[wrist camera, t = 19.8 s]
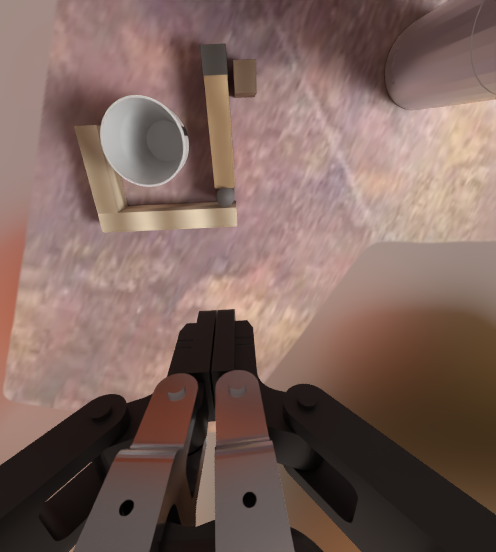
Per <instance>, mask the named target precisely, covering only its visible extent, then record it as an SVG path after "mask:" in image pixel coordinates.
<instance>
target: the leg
mask: <svg viewBox="0 0 496 552" xmlns="http://www.w3.org/2000/svg"><path fill="white" fill-rule="evenodd" d="M200 49H201V59H202V70H203V76H204V84H205V94H206V104H207V115H208V125H209V135H210V145H211V155H212V165H213V175H214V185H215V189H218V192H217V196H216V198H217V202H218V203H219V204H220V205H221V206H224V207H227V206H230V205H231V204H232V203H233V201H234V188H235V177H234V162H233V148H232V133H231V118H230V103H229V89H228V68H227V53H226V44H209V45H200Z"/></svg>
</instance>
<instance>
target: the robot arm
mask: <svg viewBox="0 0 496 552" xmlns="http://www.w3.org/2000/svg"><path fill="white" fill-rule="evenodd" d="M385 83H386V88H387V91H388V94H389V95H390V97H391V98H392V100H393V101H394V102H395V103H396V104H397V105H398V106H400V107H402V108H404V109H409V110H420V109H428V108H435V107H443V106H450V105H458V104H465V103H472V102H479V101H486V100H493V99H496V0H448V1H447V2H445V3H444V4H442V5H440V6H439V7H437V8H435V9H434V10H432V11H431V12H429V13H427V14H426V15H424V16H423V17H421V18H420V19H418V20H416V21H415V22H413V23H412V24H411V25H409V26H408V27H407V28H406V29H405V30H404V31H403V32H402V33H401V34H400V35H399V36H398V38H397V39H396V41H395V43H394V44H393V46H392V48H391V50H390V53H389V55H388V58H387V62H386V66H385ZM210 421H216V447H215V520H213V521H211V522H208V523H205V524H203V525H200V526H197V527H196V504H197V498H198V492H199V486H200V480H201V474H202V469H203V463H204V456H205V451H206V445H207V439H206V436H207V428H208V422H210ZM90 462H92V463H91V464H90V465H88V464H89V463H90ZM277 463H280V464H283V465H284V468H285V469H286V471H287V472H288V473H289V474H290V476H291V477H292V478H293V479H294V480H295V481H296V482H297V483H298V484H299V485H300V486H301V487H302V488H303V490H305V492H306V493H307V494H308V495H309V496H310V497H311V498H312V499H313V500H314V501H315V502H316V503H317V504H318V506H319V507H320V508H321V509H322V510H323V511H324V512H325V513H326V514H327V515H328V516H329V517H330V518H331V519H332V521H333V522H334V523H335V524H336V525H337V526H338V527H339V528H340V529H341V530H342V531H343V532H344V533H345V534H346V535H347V537H348V538H349V539H350V540H351V541H352V542H353V543H354V544H355V545H356V546H357V547H358V548H359V549H360V551H361V552H496V515H495V514H494V513H492V512H491V511H489V510H488V509H487V508H485V507H484V506H483V505H481V504H480V503H478V502H477V501H476V500H474V499H473V498H471V497H470V496H469V495H467V494H466V493H464V492H463V491H462V490H460V489H459V488H458V487H456V486H455V485H453V484H452V483H450V482H449V481H448V480H446V479H445V478H444V477H442V476H441V475H439V474H438V473H437V472H435V471H434V470H433V469H431V468H430V467H428V466H427V465H426V464H424V463H423V462H421V461H420V460H419V459H417V458H416V457H414V456H413V455H412V454H410V453H409V452H407V451H406V450H405V449H403V448H402V447H400V446H399V445H397V444H396V443H395V442H394V441H392V440H391V439H389V438H388V437H387V436H385V435H384V434H382V433H381V432H380V431H378V430H377V429H376V428H374V427H373V426H371V425H370V424H369V423H367V422H366V421H364V420H363V419H361V418H360V417H359V416H357V415H356V414H354V413H353V412H352V411H351V410H349V409H348V408H346V407H345V406H344V405H342V404H341V403H339V402H338V401H337V400H335V399H334V398H332V397H331V396H330V395H328V394H327V393H325V392H324V391H323V390H321V389H320V388H318V387H316V386H313V385H310V384H298V385H295V386H292V387H291V388H289V389H288V390H287V392H282V391H278V390H274V389H272V388H269V387H267V386H265V385H264V384H263V383H262V382H261V381H260V379H259V377H258V375H257V367H256V356H255V345H254V334H253V327H252V326H251V324H250V323H249V322H248V321H247V320H244V321H235V309H230V310H218V311H217V310H212V311H199V314H198V319H197V323H188V324H186V325H185V326H184V327H183V329H182V330H181V331H180V333H179V336H178V340H177V343H176V347H175V350H174V354H173V357H172V361H171V364H170V368H169V372H168V375H167V377H166V378H164V379H163V380H162V381H161V382H160V383H159V384H158V385H157V386H156V388H155V390H154V392H153V394H151V395H149V396H147V397H144V398H142V399H139V400H135V401H132V402H129V403H126V401H125V399H124V398H123V397H122V396H120V395H116V394H108V395H103V396H100V397H98V398H96V399H94V400H92V401H91V402H89V403H88V404H86V405H85V406H83V407H82V408H81V409H79V410H78V411H76V412H75V413H74V414H72V415H71V416H69V417H68V418H67V419H65V420H64V421H62V422H61V423H60V424H58V425H57V426H55V427H54V428H52V429H51V430H50V431H48V432H47V433H45V434H44V435H43V436H41V437H40V438H39V439H37V440H35V441H34V442H33V443H31V444H30V445H28V446H27V447H26V448H24V449H23V450H21V451H20V452H19V453H17V454H16V455H15V456H13V457H12V458H10V459H9V460H7V461H6V462H4V463H3V464H2V465H0V552H69V551H70V550H71V549H72V548H73V547H74V545H76V546H75V548H74V550H73V552H323V551H322V550H321V549H320V548H319V547H318V546H317V545H316V544H315V543H314V542H313V541H312V540H311V539H309V538H308V537H307V536H305V535H304V534H302V533H301V532H299V531H297V530H296V529H294V528H291V527H290V526H289V521H288V516H287V511H286V507H285V501H284V496H283V491H282V486H281V481H280V476H279V471H278V466H277ZM87 465H88V466H87ZM86 466H87V467H86ZM84 467H86V468H85V469H84V470H83V471H81V470H82V469H83V468H84ZM80 471H81V472H80ZM78 472H80V473H79V474H78V475H77V476H76V477H75V478H73V477H74V476H75V475H76V474H77V473H78ZM71 478H73V479H72V480H71V481H70V482H69V483H68V484H66V483H67V482H68V481H69V480H70V479H71ZM65 484H66V486H64V485H65ZM62 486H64V487H63V488H62V489H61V490H60V491H58V490H59V489H60V488H61V487H62ZM57 491H58V492H57ZM55 492H57V493H56V494H55V495H54V496H53V497H52V498H50V497H51V496H52V495H53V494H54V493H55ZM49 498H50V499H49ZM48 499H49V500H48ZM47 500H48V501H47Z"/></svg>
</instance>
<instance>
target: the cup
mask: <svg viewBox="0 0 496 552" xmlns="http://www.w3.org/2000/svg"><path fill="white" fill-rule="evenodd" d="M100 139H101V145H102V149H103V152H104V154H105V156H106V158H107V160H108V162H109V164H110V165H111V166H112V168H113V169H114V170H115V171H116V172H117V173H118V174H119V175H120V176H121V177H123V178H124V179H126V180H127V181H129V182H131V183H133V184H136V185H139V186H145V187H154V186H159V185H162V184H165V183H167V182H168V181H170V180H171V179H172V178H173V177H174V176H175V175H176V174H177V173H178V172H179V171H180V169H181V168H182V167H183V165H184V164H185V162H186V160H187V157H188V152H189V140H188V135H187V132H186V129H185V127H184V125H183V123H182V122H181V120H180V119H179V118H178V116H177V115H176V114H175V113H174V112H172V111H171V110H170V109H168V108H167V107H166V106H164V105H163V104H161V103H160V102H158V101H157V100H155V99H152V98H150V97H146V96H142V95H130V96H126V97H123V98H121V99H119V100H117V101H115V102H114V103H113V104H112V105H111V106H110V107H109V108H108V109H107V111H106V113H105V115H104V117H103V119H102V123H101V128H100Z"/></svg>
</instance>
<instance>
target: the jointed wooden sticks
mask: <svg viewBox="0 0 496 552" xmlns="http://www.w3.org/2000/svg"><path fill="white" fill-rule="evenodd" d="M233 69H234V90H235V98H241V97H255V95H256V93H257V89H256V59H245V60H233ZM74 128H75V132H76V136H77V139H78V143H79V147H80V150H81V154H82V158H83V161H84V165H85V169H86V173H87V176H88V180H89V184H90V187H91V191H92V195H93V198H94V202H95V206H96V209H97V213H98V217H99V220H100V224H101V228H102V231H103V233H105V232H126V231H148V230H169V229H190V228H212V227H233V226H237V210H236V201H233V203H232V204H231V205H230V206H227V207H224V206H221V205H220V204H219V203H218V202H205V203H183V204H161V205H139V206H128V204H127V200H126V195H125V191H124V186H123V182H122V177H121V176H120V175H119V174H118V173H117V172H116V171H115V170H114V169H113V168H112V166H111V165H110V164H109V162H108V160H107V158H106V156H105V154H104V152H103V149H102V145H101V139H100V128H101V125H81V126H74Z"/></svg>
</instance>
